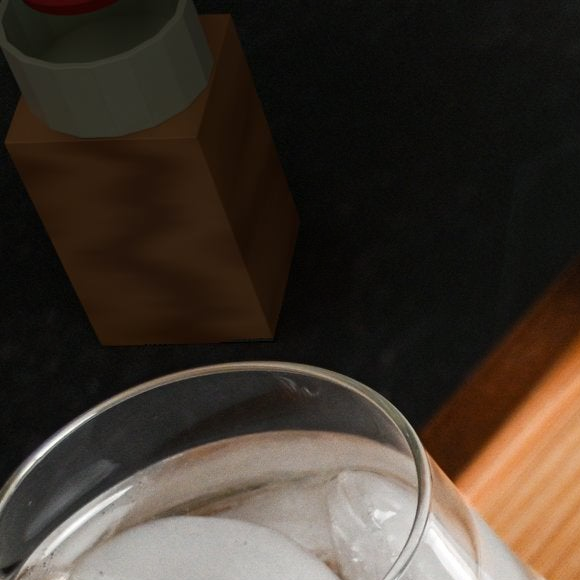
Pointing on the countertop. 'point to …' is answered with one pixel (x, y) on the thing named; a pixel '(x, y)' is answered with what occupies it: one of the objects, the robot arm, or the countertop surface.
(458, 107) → the countertop surface
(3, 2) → the bowl
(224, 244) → the riser
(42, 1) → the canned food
